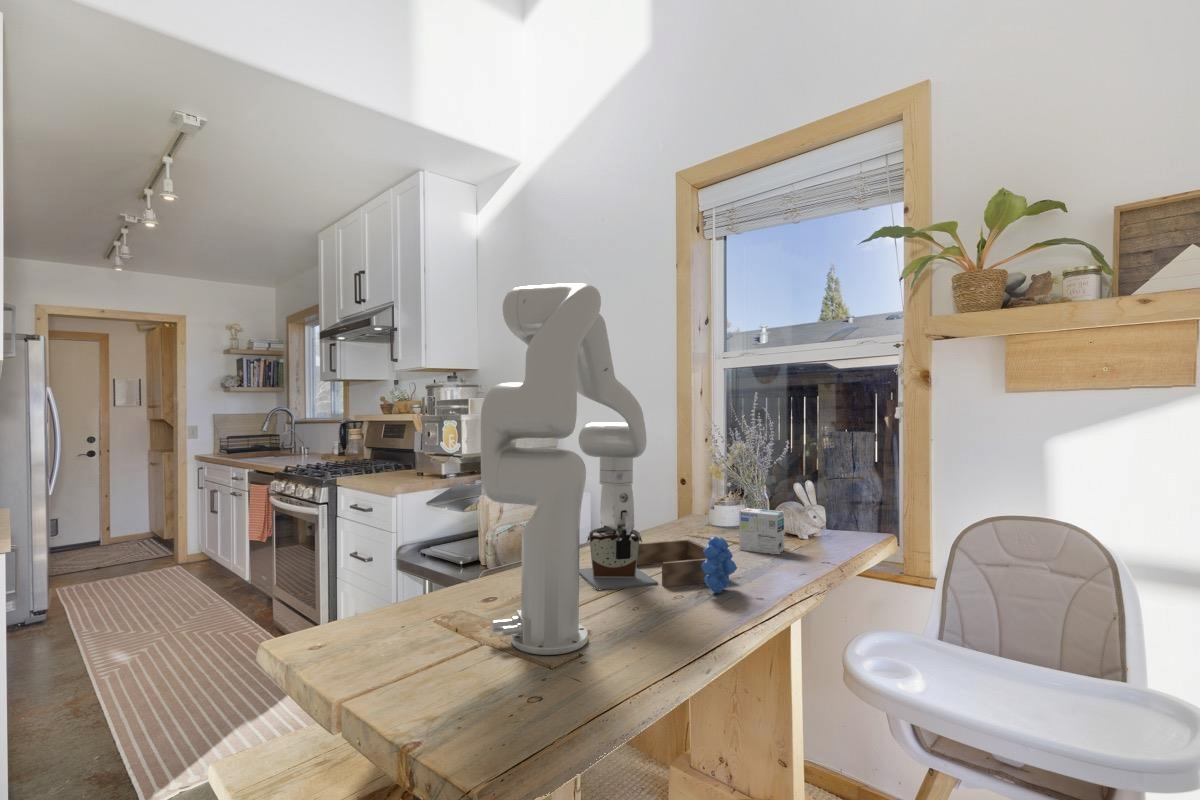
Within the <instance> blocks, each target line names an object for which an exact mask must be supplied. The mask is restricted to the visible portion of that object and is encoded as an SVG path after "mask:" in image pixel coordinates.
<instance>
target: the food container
mask: <svg viewBox="0 0 1200 800" xmlns="http://www.w3.org/2000/svg"><path fill="white" fill-rule="evenodd" d="M620 532H621V534H622V532H623V531H620ZM617 540H618V538H617V534H616V530H612V529H611V528H609V527H603V528H601V527H597V528H594V529H592V530H590V531H589V532H588V535H587V539H586V543H588V542H589V548H590V557H591V558H590V559H591V566H592V567H591V568H592V570H593V578H635V575H636V568H638V567H637V566H638V565H637V558H638V550H639V543H643V540H642V535H641V532H639V531H638V530H636V529H634V528H633V529H632V535H631V557H630V559H619V560H618V559H616V541H617Z"/></svg>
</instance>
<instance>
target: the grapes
mask: <svg viewBox="0 0 1200 800" xmlns="http://www.w3.org/2000/svg"><path fill="white" fill-rule="evenodd" d="M707 544H708V545H707V546H704V547H705V548H704V550H703V553H704V555H705V557H706V558H707V559H708V560H706V561H704V562H703V563H702V565H701V567H702V570H703V571H704V573H705V574H707V575H706V576H705V578H704V581H705V583H704V584H705V586H707V587H708V588H709V589H711V591H712V592H713V593H714V594H720V593H721V592H723V590H724V589H726V588H727V587H728V586H729V585H730V584H731V582H730V579H729V580H728V578H727V576H729V577H730V575H732V574H734V573H735V571H737V569H738V566H737V564H736V562H735V561H734V560H732V558H733V557H734V556H733V554H732V552H731V550H730V549H729V547H730V545H729V543H728V542H727V540H726V539H725V538H723V537H718V536H712V537H711V538H709V540H708V542H707Z"/></svg>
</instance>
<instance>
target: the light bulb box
mask: <svg viewBox="0 0 1200 800" xmlns="http://www.w3.org/2000/svg"><path fill="white" fill-rule="evenodd" d="M738 518H739V522H738V523H739V528H738V529H739V547H738V548H739V550H740V551H745V552H746V551H747V552H751V553H752V552H753V553H759V554H760V553H761V554H767V553H770V554H769V555H774V554H778V555H779V553H780V552H781V551H782V552H784V551H785V511H783V510H771V509H770V510H769V509H761V508H752V507H751V508H750V507H746V508H744V509H741V510H739V517H738ZM783 550H784V551H783ZM782 552H781V553H782ZM781 553H780V554H781Z"/></svg>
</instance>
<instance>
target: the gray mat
mask: <svg viewBox="0 0 1200 800" xmlns="http://www.w3.org/2000/svg"><path fill="white" fill-rule="evenodd" d="M579 574H580V575H579V576H581V578H583V579H584V578H585V579H586V580H587V581H588V582H589V583H590V584H591V587H593V588H594V587H595V588H596V589H597V590H598V591H600V590H599V589H608V590H615V589H614V588H617V589H625V588H634V587H636V586H637V587H644V586H645V587H646V586H655V585H656V586H657V585H658V584H659V582H658V581H657V580H655V579H654V578H652V577H651V576H650V575H648V574H647V573H645V572H644V571H642V570H641V569H639V568H638V567H636V575H635V578H593V570H592V567H590V568H589V567H588V568H579ZM585 579H584V580H585ZM586 580H585V581H586ZM587 581H586V582H587ZM588 582H587V583H588ZM589 583H588V584H589ZM590 584H589V585H590ZM595 588H594V589H595ZM596 589H595V590H596ZM597 590H596V591H597Z"/></svg>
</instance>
